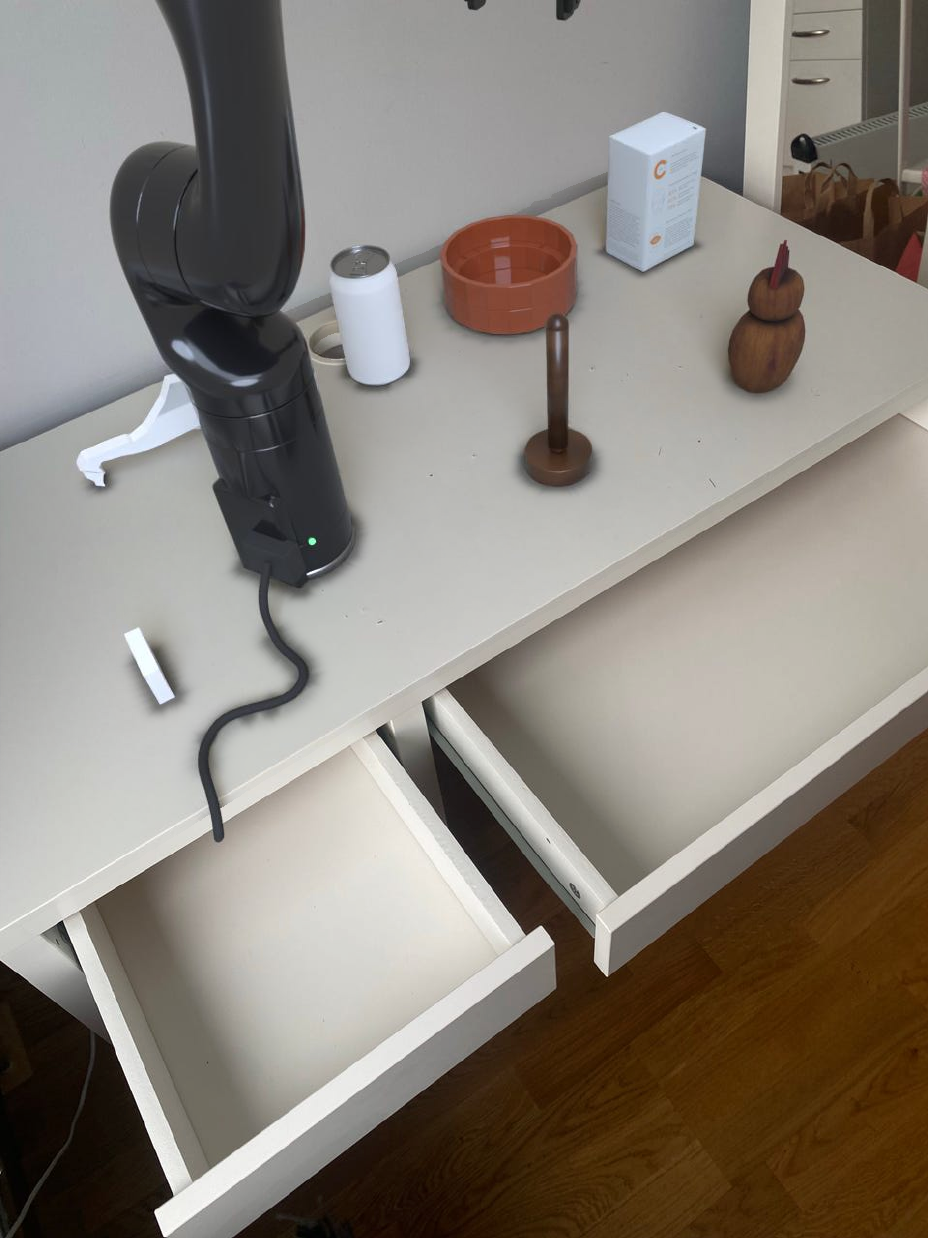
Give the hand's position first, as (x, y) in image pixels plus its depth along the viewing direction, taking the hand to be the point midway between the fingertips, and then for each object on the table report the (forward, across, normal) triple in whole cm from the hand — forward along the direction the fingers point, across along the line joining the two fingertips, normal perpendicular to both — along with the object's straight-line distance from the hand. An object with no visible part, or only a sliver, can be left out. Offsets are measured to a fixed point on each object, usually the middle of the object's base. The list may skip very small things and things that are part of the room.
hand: (520, 12), depth 81 cm
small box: (+28, +8, +15) cm, 32 cm away
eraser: (+29, -3, -57) cm, 64 cm away
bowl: (+28, -2, 0) cm, 28 cm away
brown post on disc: (+28, +14, -22) cm, 39 cm away
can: (+28, -9, -16) cm, 34 cm away
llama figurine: (+29, -20, -35) cm, 49 cm away
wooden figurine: (+28, +27, -4) cm, 39 cm away
